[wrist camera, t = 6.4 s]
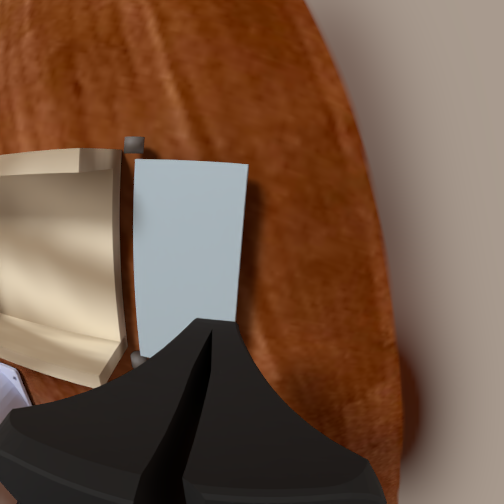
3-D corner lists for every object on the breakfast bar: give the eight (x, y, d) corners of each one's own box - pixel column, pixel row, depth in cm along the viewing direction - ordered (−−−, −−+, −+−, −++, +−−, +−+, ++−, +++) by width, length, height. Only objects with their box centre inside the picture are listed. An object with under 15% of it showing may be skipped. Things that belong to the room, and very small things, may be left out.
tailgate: (144, 348, 17) (232, 361, 17) (140, 356, 17) (231, 369, 17) (141, 158, 14) (249, 164, 14) (135, 159, 14) (247, 164, 14)
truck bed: (151, 357, 18) (128, 410, 14) (-6, 320, 18) (-42, 349, 13) (150, 138, 15) (109, 130, 10) (-25, 153, 14) (-73, 158, 9)
